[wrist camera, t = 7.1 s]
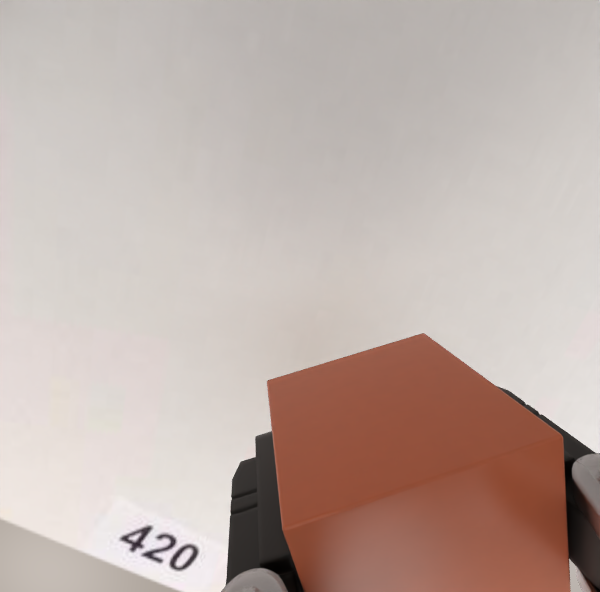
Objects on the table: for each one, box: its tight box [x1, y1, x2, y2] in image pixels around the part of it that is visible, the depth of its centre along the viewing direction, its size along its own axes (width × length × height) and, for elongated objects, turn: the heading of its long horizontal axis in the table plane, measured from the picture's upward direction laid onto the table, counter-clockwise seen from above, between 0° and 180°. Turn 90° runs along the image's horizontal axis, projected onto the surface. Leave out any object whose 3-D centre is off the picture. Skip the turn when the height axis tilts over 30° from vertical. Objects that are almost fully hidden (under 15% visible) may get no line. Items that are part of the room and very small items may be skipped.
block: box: [267, 333, 570, 592], centre depth 8 cm, size 4×4×4 cm
